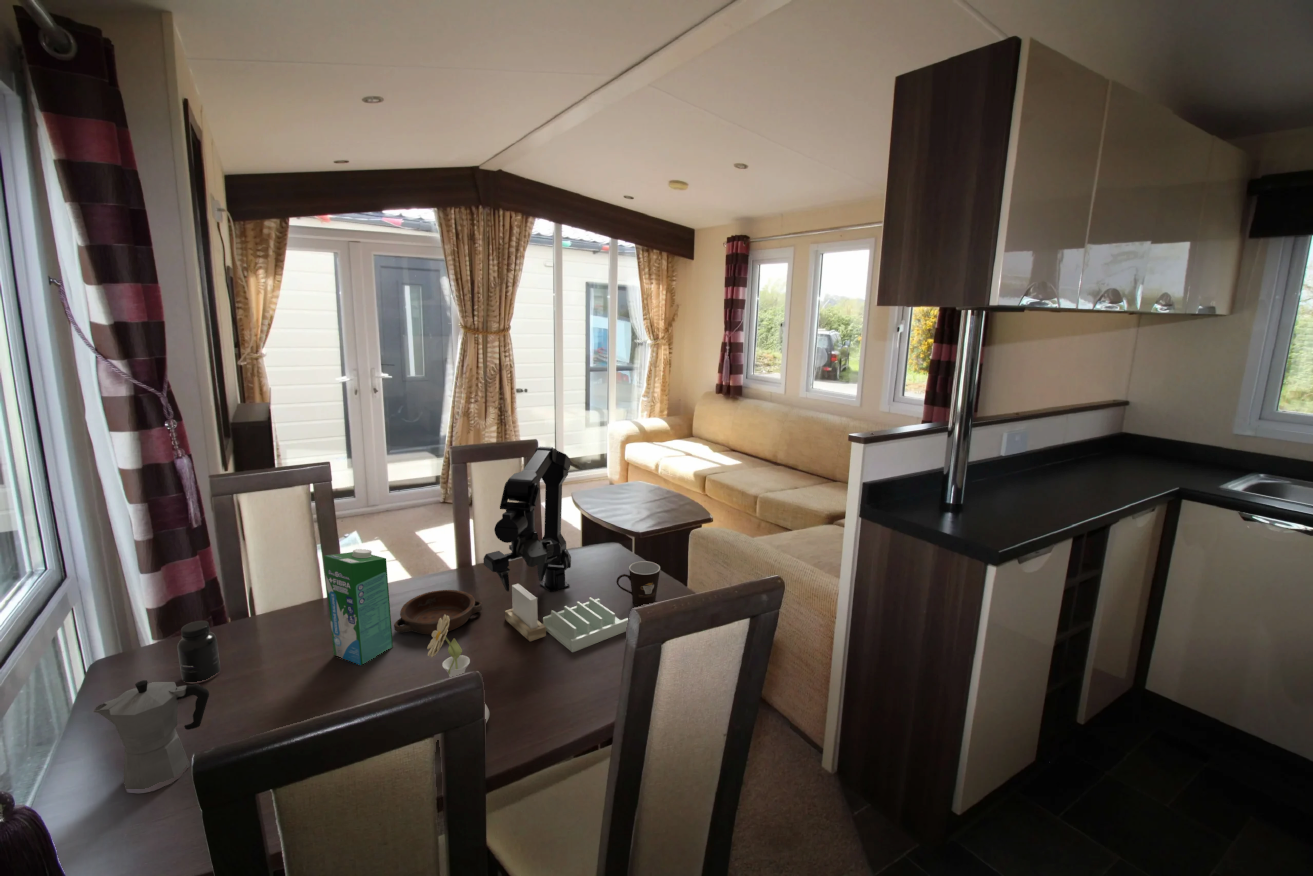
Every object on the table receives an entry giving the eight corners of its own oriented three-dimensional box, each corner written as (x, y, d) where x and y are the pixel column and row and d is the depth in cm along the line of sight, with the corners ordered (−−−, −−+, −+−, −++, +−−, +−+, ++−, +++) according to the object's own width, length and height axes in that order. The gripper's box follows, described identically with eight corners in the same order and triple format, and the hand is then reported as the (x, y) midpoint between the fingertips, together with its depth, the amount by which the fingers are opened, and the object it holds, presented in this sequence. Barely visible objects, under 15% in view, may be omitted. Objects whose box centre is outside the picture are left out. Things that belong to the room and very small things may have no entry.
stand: (505, 619, 159) (505, 610, 158) (520, 614, 161) (520, 605, 161) (529, 641, 149) (529, 632, 148) (545, 636, 151) (545, 626, 151)
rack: (543, 628, 155) (542, 610, 154) (598, 608, 166) (598, 591, 165) (572, 652, 144) (572, 633, 143) (629, 629, 155) (629, 612, 154)
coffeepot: (97, 806, 98) (77, 708, 94) (119, 766, 107) (101, 675, 103) (212, 778, 104) (198, 685, 100) (224, 743, 113) (211, 655, 109)
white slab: (512, 620, 158) (511, 585, 156) (519, 618, 159) (518, 583, 157) (531, 637, 151) (530, 600, 149) (537, 635, 152) (537, 598, 150)
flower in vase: (441, 705, 125) (434, 593, 119) (496, 708, 124) (492, 595, 119) (414, 751, 112) (406, 627, 106) (476, 754, 111) (470, 630, 106)
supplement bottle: (179, 689, 128) (170, 637, 125) (185, 671, 134) (177, 621, 131) (218, 680, 131) (211, 629, 128) (223, 663, 137) (216, 615, 134)
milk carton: (393, 647, 145) (385, 548, 140) (361, 666, 137) (351, 563, 132) (366, 637, 149) (358, 541, 143) (333, 656, 141) (323, 555, 135)
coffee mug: (660, 594, 174) (661, 562, 172) (657, 609, 166) (658, 575, 164) (620, 592, 175) (620, 559, 173) (615, 606, 167) (615, 572, 165)
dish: (385, 620, 157) (384, 602, 156) (469, 597, 170) (468, 581, 169) (404, 651, 144) (403, 632, 143) (493, 624, 157) (493, 606, 156)
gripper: (502, 546, 137) (504, 609, 141) (572, 528, 149) (573, 587, 152) (481, 531, 146) (483, 591, 149) (549, 516, 157) (550, 572, 161)
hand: (524, 585), depth 153 cm, fingers open, 9 cm apart
